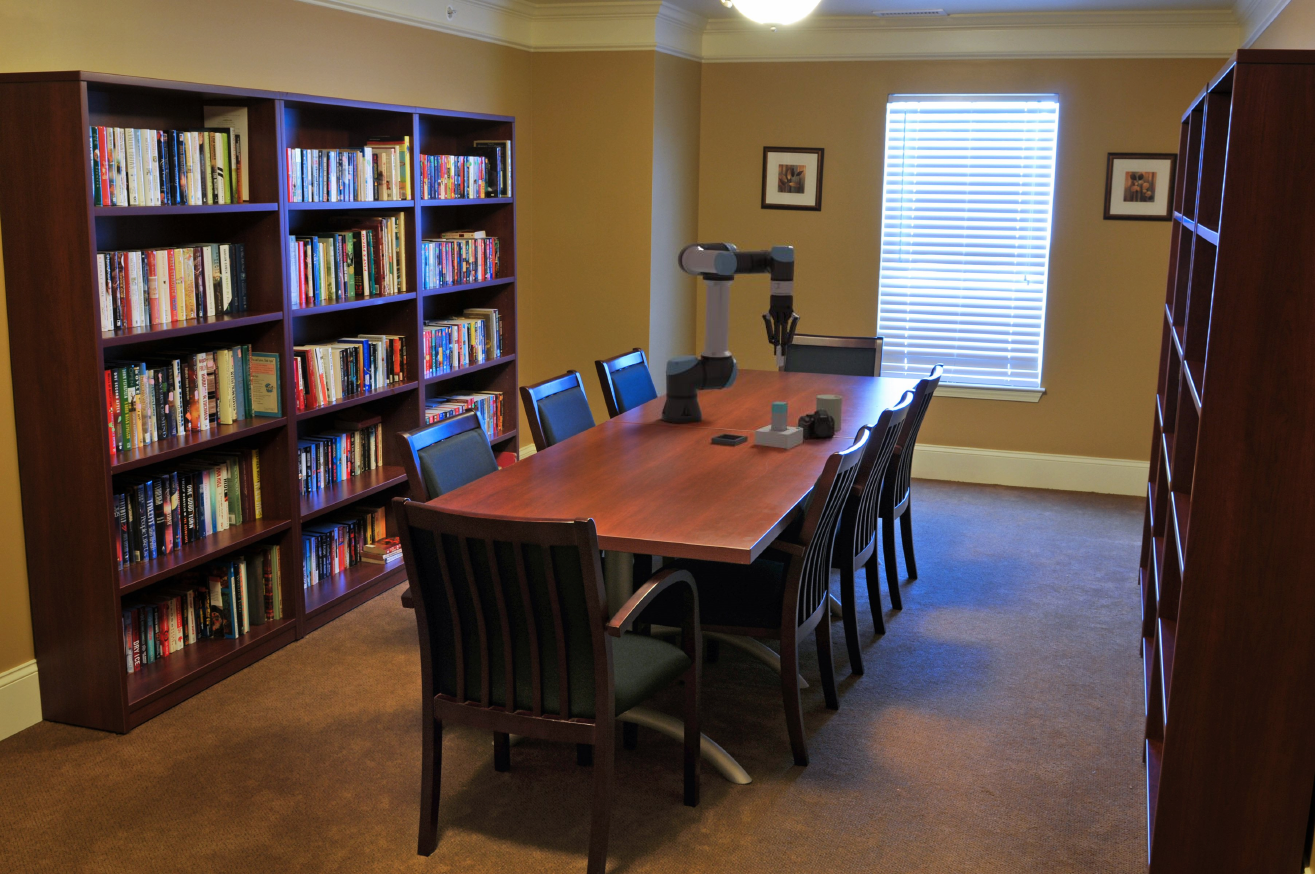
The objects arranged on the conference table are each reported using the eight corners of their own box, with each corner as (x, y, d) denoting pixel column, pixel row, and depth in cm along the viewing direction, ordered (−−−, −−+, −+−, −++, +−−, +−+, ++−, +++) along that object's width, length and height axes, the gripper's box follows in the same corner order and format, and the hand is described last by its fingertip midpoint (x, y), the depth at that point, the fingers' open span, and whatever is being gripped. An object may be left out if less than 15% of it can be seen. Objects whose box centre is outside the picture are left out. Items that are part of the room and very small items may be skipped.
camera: (809, 442, 373) (810, 413, 371) (793, 436, 382) (794, 408, 379) (842, 438, 378) (843, 410, 376) (826, 433, 387) (827, 405, 385)
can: (840, 431, 390) (841, 398, 387) (814, 430, 391) (815, 397, 389) (841, 426, 399) (842, 393, 396) (816, 425, 400) (817, 392, 398)
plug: (770, 441, 368) (771, 403, 366) (775, 439, 372) (776, 401, 369) (781, 442, 366) (782, 404, 364) (786, 440, 370) (787, 402, 367)
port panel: (754, 445, 367) (755, 429, 366) (770, 438, 377) (770, 423, 376) (787, 449, 361) (788, 433, 360) (802, 442, 371) (803, 427, 370)
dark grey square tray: (711, 443, 370) (711, 438, 369) (723, 439, 377) (723, 433, 377) (735, 447, 365) (735, 441, 365) (747, 442, 373) (747, 436, 372)
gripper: (758, 293, 359) (757, 365, 365) (795, 295, 353) (793, 368, 358) (768, 292, 366) (766, 362, 371) (804, 293, 359) (802, 365, 364)
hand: (779, 365), depth 364 cm, fingers closed
